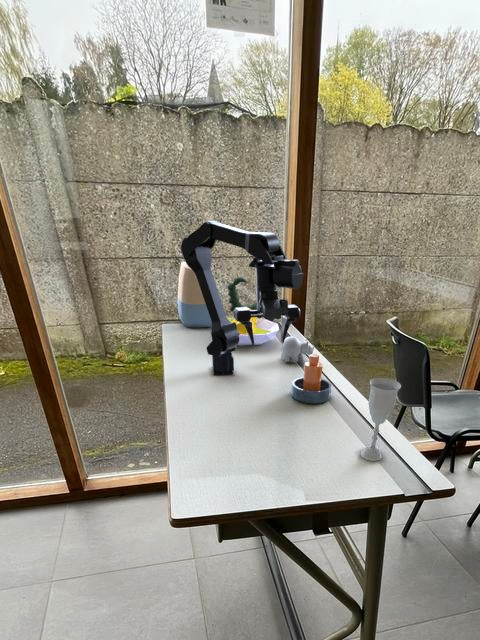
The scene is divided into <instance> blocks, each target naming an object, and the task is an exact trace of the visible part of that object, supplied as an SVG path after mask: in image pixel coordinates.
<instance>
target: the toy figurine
mask: <svg viewBox="0 0 480 640" xmlns="http://www.w3.org/2000/svg"><path fill="white" fill-rule="evenodd" d="M247 282H248V281H247V280H246V279H245V278H244V277H240V276H238V277H235V278H234V279H233V281H232V282H229V283H228V285H227V290H228V292H227V295H228V297H229V298H228V303H229V304H230V306H229V311H230V312H234V309H235V308H241V307H247V308H249V309H251V310H257V302H253V303H251V304H250V305H248V304H247V305H244V304H242V303H241V301H240V297H239V296H238V290H237V286H239V285H240V283H245V284H248V283H247ZM260 313H262V312H260ZM257 318H260V319H262V317H257ZM269 321H271V322H274V321H275V319H270V320H269Z"/></svg>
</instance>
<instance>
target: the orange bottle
mask: <svg viewBox="0 0 480 640" xmlns="http://www.w3.org/2000/svg"><path fill="white" fill-rule="evenodd" d="M303 369H304V370H303V377H304V380H303V390H308V391H320V385H321V379H322V376H323V375H322V374H323V363H322V362H320V355H319V354H317V353H312V354H310V355H309V358H308V361H306V362H305V363H304V368H303Z"/></svg>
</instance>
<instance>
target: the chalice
mask: <svg viewBox="0 0 480 640" xmlns="http://www.w3.org/2000/svg"><path fill="white" fill-rule="evenodd" d="M369 385H370V390H369V397H368V404H367V405H368V411H369V415H370V418H371V421H372V423H374V428H373V429H372V432H373V434H372V435H371V437H370V438H371V443H369V444H368V445H366V446H365V447H364V448H363V449H362V451H361V453H360V456H361V457H362V459H364V460H366V461H370V462H377V461H380V460H381V459H383V458H382V453H381V449H380V446H379V445H377V440H379V436H378V434H379V433H380V425H382V424H384V423H385V422H386V421H387V419H388V418H389V416H391V414H392V412H393V410H394V408H395V405H396V401H397V396H398V392H399V391H400V389H401V387H402V385H401V383H400V382H399V381H397V380H395V379H393V378H387V377H374V378H371V379H370V381H369Z"/></svg>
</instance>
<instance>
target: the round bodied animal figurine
mask: <svg viewBox="0 0 480 640" xmlns="http://www.w3.org/2000/svg"><path fill="white" fill-rule="evenodd" d="M280 348H281V351H282V353H281V355H280V356H281V357H280V359H282V361H283V362H284V363H290V362H291V363H295V364H296V363H298V362H299V355H300V354H303V355H304V354H306V355H308V356H310V354H314V349H315V345H314V344H313V345H311V344H310V343H309V341H308V339H307V338H305V340H304V341H301V340H300V339H299V338H298V337H296V336H293V335H290V336H286V337H285V341H284V343H282V342H281V347H280Z"/></svg>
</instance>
